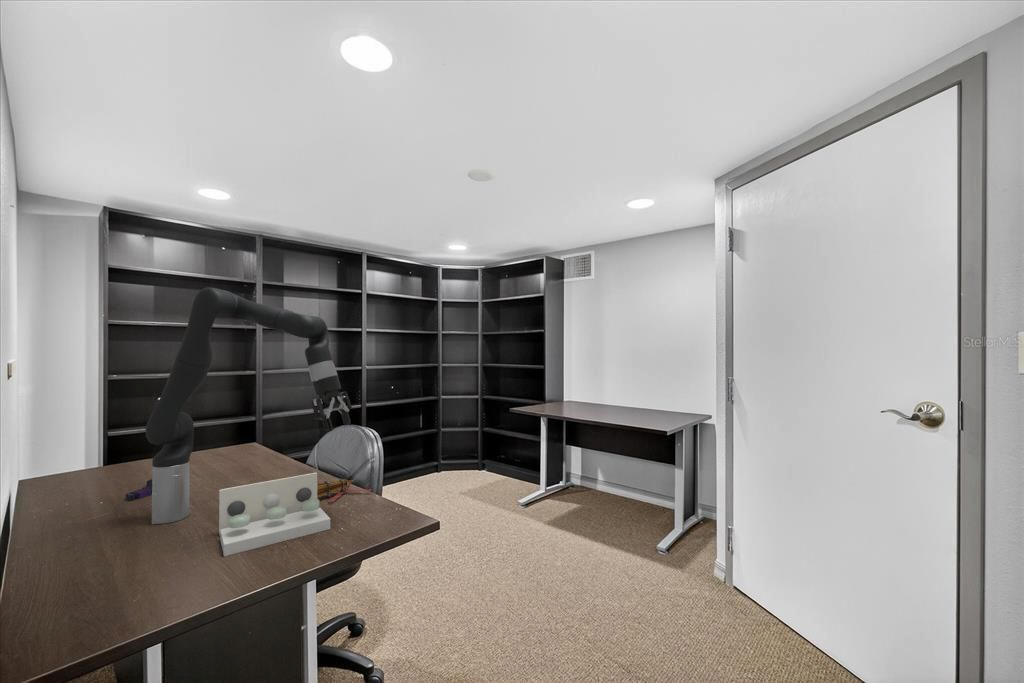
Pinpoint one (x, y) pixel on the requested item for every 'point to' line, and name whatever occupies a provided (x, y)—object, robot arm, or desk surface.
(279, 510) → the button middle
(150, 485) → the handgun
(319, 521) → the button panel
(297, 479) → the pattern card
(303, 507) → the button right
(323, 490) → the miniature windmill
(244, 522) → the button left
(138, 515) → the desk surface
